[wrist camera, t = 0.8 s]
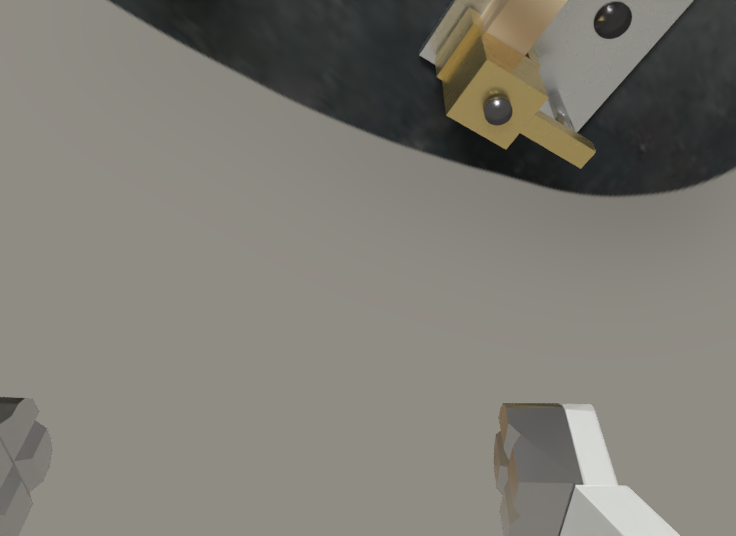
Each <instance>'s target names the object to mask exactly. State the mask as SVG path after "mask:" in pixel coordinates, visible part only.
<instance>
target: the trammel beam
mask: <svg viewBox="0 0 736 536" xmlns="http://www.w3.org/2000/svg"><path fill="white" fill-rule="evenodd" d="M567 1H568V0H492V1H491V2H490V4H489V5H488V7H487V8H486V9H485V11H484V12H483V14H482V15H481V21H482V24H483V28H484V30H485V31H486V32H488V33H490V34H491V35H493V36H494V37H496V38H498V39H499V40H501V41H502V42H504V43H505V44H507V45H509V46H510V47H512V48H513V49H515V50H517V51H518V52H520V53H521V54H523V55H524V56H525V55H526V54H527V53H528V51H529V50H530V49H531V47H532V46H533V45H534V44H535V42H536V41H537V40H538V38H539V37H540V36H541V34H542V33H543V32H544V31H545V29H546V28H547V27H548V25H549V24H550V23H551V21H552V20H553V19H554V17H555V16H556V15H557V14H558V12H559V11H560V10H561V8H562V7H563V6H564V4H565V3H566V2H567Z"/></svg>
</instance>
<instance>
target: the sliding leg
mask: <svg viewBox="0 0 736 536" xmlns="http://www.w3.org/2000/svg"><path fill="white" fill-rule="evenodd" d="M435 67H436V76H437V77H438V78H439V79H441V80H442V86H443V94H444V102H445V110H446V116H448V117H450V118H452V119H453V120H455V121H457V122H458V123H460V124H462V125H464V126H465V127H467V128H469V129H471V130H472V131H474V132H476V133H478V134H479V135H481V136H483V137H485V138H486V139H488V140H490V141H492V142H493V143H495V144H497V145H499V146H500V147H502V148H504V149H507V148H508V147H509V145H510V144H511V143H512V142H513V141H514V139H515V138H516V137H517V136H518V135H519V133H521V134H522V135H524V136H526V137H528V138H529V139H531V140H533V141H534V142H536V143H538V144H539V145H541V146H543V147H545V148H546V149H548V150H550V151H551V152H553V153H555V154H556V155H558V156H560V157H562V158H563V159H565V160H567V161H568V162H570V163H572V164H574V165H575V166H577V167H579V168H580V169H581V168H582V167H583V166H584V165H585V164H586V163H587V161H588V160H589V159H590V158H591V157H592V156H593V155H594V154H595V153H596V150H595V148H594V145H593V143H592V142H591V141H589V140H588V139H586V138H584V137H583V136H581V135H580V134H578V133H576V132H575V129H574V127H573V124H572V122H571V120H570V117H569V115H568V112H567V110H566V108H565V105H564V103H563V100H562V98H561V95H560V93H559V92H558V91H557V90H552V91H550V92H549V93H548V94H547V91H546V89H545V86H544V84H543V81H542V78H541V76H540V73H539V71H538V69H539V67H540V64H539V61H538V58H537V56H536V53H535V51H534V48H533V47H531V49H530V50H529V51H528V53H527V54H526V55H525V56H524V55H523V54H521V53H520V52H518V51H517V50H515V49H513V48H512V47H510V46H509V45H507V44H505V43H504V42H502V41H501V40H499V39H498V38H496V37H494V36H493V35H491V34H490V33H488V32H486V31H485V30H484V28H483V24H482V21H481V17H480V13H478V12H477V11H475V10H474V9H472V8H470V7H469V8H468V10H467V11H466V13H465V14H464V16H463V17H462V18H461V20H460V21H459V23H458V24H457V26H456V27H455V29H454V30H453V32H452V33H451V35H450V36H449V38H448V39H447V41H446V42H445V43H444V45H443V46H442V48H441V49H440V51H439V52H438V54H437V55H436V57H435ZM546 100H548V102H549V105H550V108H551V110H552V113H553V116H554V118H555V119H553V118H551V117H550V116H548V115H547V114H545V113H543V112H542V111H540V110H539V109H540V108H541V107H542V105H543V104H544V103H545V102H546Z"/></svg>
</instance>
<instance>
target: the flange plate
mask: <svg viewBox="0 0 736 536" xmlns="http://www.w3.org/2000/svg"><path fill="white" fill-rule="evenodd" d="M491 1H492V0H452V1H451V3H450V4H449V6H448V7H447V9H446V10H445V12H444V13H443V15H442V16H441V18H440V19H439V21H438V22H437V24H436V25H435V27H434V28H433V30H432V31H431V33H430V34H429V36H428V37H427V39H426V40H425V42H424V43H423V45H422V46H421V48H420V50H419V55H420V56H421V57H423V58H425V59H426V60H428V61H430V62H431V63H433V64H435V57H436V55H437V54H438V52H439V51H440V49H441V48H442V46H443V45H444V43H445V42H446V41H447V39H448V38H449V36H450V35H451V33H452V32H453V30H454V29H455V27H456V26H457V24H458V23H459V21H460V20H461V18H462V17H463V16H464V14H465V13H466V11H467V10H468V8H469V7H470V8H472V9H474V10H475V11H477V12H478V13H480V17H481V15H482V14H483V12H484V11H485V9H486V8H487V7H488V5H489V4H490V2H491ZM693 1H694V0H568V1H567V2H566V3H565V4H564V6H563V7H562V8H561V10H560V11H559V12H558V14H557V15H556V16H555V17H554V19H553V20H552V21H551V23H550V24H549V25H548V27H547V28H546V29H545V31H544V32H543V33H542V34H541V36H540V37H539V38H538V40H537V41H536V42H535V44H534V45H533V46H532V47H533V48H534V51H535V53H536V56H537V58H538V61H539V64H540V67H539V69H538V71H539V73H540V76H541V78H542V81H543V84H544V86H545V89H546V91H547V94H548V93H549V92H550V91H552V90H557V91H558V92H559V93H560V95H561V98H562V100H563V103H564V105H565V108H566V110H567V112H568V115H569V117H570V120H571V122H572V124H573V127H574V129H575V132H576V133H577V132H578V131H579V130H580V129H581V127H582V126H583V125H584V124H585V123H586V122H587V121H588V120H589V118H590V117H591V116H592V115H593V114H594V113H595V112H596V110H597V109H598V108H599V107H600V106H601V105H602V104H603V103H604V101H605V100H606V99H607V98H608V97H609V96H610V95H611V93H612V92H613V91H614V90H615V89H616V88H617V87H618V86H619V84H620V83H621V82H622V81H623V80H624V79H625V78H626V76H627V75H628V74H629V73H630V72H631V71H632V70H633V69H634V67H635V66H636V65H637V64H638V63H639V62H640V61H641V59H642V58H643V57H644V56H645V55H646V54H647V53H648V52H649V50H650V49H651V48H652V47H653V46H654V45H655V44H656V42H657V41H658V40H659V39H660V38H661V37H662V36H663V35H664V33H665V32H666V31H667V30H668V29H669V28H670V27H671V25H672V24H673V23H674V22H675V21H676V20H677V19H678V18H679V16H680V15H681V14H682V13H683V12H684V11H685V10H686V9H687V7H688V6H689V5H690V4H691V3H692V2H693ZM539 110H540V111H542V112H543V113H545V114H547V115H548V116H550V117H551V118H553V119H555V118H554V116H553V113H552V110H551V108H550V105H549V102H548V100H546V102H545V103H544V104H543V105H542V107H541V108H540V109H539Z"/></svg>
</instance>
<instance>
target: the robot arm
mask: <svg viewBox="0 0 736 536" xmlns="http://www.w3.org/2000/svg"><path fill="white" fill-rule="evenodd" d="M38 413H39V410H38V408H37V406H36V404H35V402H34V400H33V399H29V398H9V397H0V536H18V535H19V533H20V531H21V529H22V527H23V524H24V522H25V520H26V518H27V516H28V514H29V511H30V509H31V507H32V505H33V502H32V499H31V496H30V493H29V492H30V491H31V490H33V489H34V488H35V487H36V486H38V485H39V484H40V483H42V482H43V481H44V478H45V476H46V473H47V471H48V469H49V467H50V460H51V454H52V444H51V438H50V435H49V433H48V430H47V428H46V427H44V426H43V425H41V424H40V423H38V422H37V421H36V420H35V419H36V417H37V415H38ZM499 423H500V429H501V431H500V432H499V433H497V434H496V438H495V445H494V472H495V481H496V488H497V489H498V490H499V491H500V492H501V493H502V495H503V497H502V502H501V507H500V516H501V522H502V529H503V535H504V536H680V535H679V534H678V533H677V532H676V531H675V530H674V529H673V528H671V526H669V525H668V524H667V523H666V522H665V521H664V520H663V519H662V518H661V517H660V516H659V515H658V514H657V513H655V511H653V510H652V509H651V508H650V507H649V506H648V505H647V504H646V503H645V502H644V501H643V500H642V499H641V498H639V496H637V495H636V494H635V493H634V492H633V491H632V490H631V489H630V488H629V487H628V486H621V485H618V483H617V479H616V476H615V473H614V470H613V467H612V463H611V460H610V457H609V454H608V451H607V448H606V444H605V441H604V438H603V435H602V431H601V428H600V425H599V422H598V419H597V415H596V412H595V409H594V408H593V407H592V406H591V405H590V404H557V403H556V404H554V403H552V404H550V403H547V404H545V403H543V404H542V403H541V404H539V403H538V404H536V403H532V404H531V403H529V404H527V403H526V404H525V403H524V404H523V403H522V404H520V403H519V404H517V403H515V404H513V403H512V404H511V403H503V404H502V406H501V409H500V414H499Z"/></svg>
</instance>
